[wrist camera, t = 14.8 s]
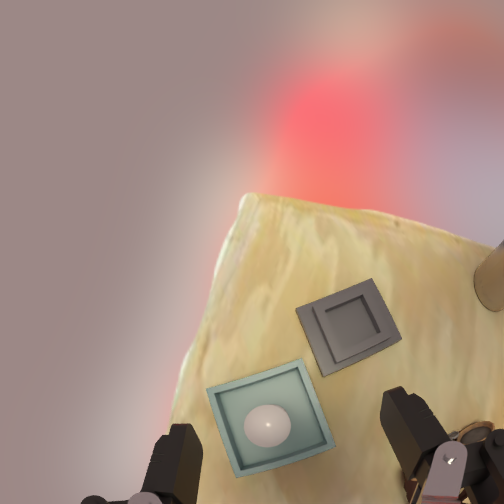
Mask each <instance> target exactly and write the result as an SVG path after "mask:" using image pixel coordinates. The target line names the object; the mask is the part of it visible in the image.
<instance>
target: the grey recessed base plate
mask: <svg viewBox="0 0 504 504" xmlns="http://www.w3.org/2000/svg"><path fill="white" fill-rule="evenodd" d="M296 312H297V315H298V317H299V320H300V322H301V325H302V327H303V330H304V332H305V334H306V337H307V339H308V342H309V344H310V347H311V349H312V352H313V354H314V357H315V359H316V362H317V364H318V367H319V369H320V372H321V374H322V377H324V376H327V375H329V374H331V373H334V372H336V371H338V370H341V369H343V368H345V367H347V366H350V365H352V364H354V363H356V362H358V361H360V360H362V359H365V358H367V357H369V356H371V355H373V354H375V353H377V352H379V351H381V350H383V349H385V348H387V347H388V346H390V345H392V344H394V343H396V342H398V341H400V340H401V339H402V337H401V335H400V333H399V331H398V329H397V327H396V325H395V322H394V320H393V318H392V316H391V314H390V312H389V310H388V308H387V306H386V304H385V302H384V300H383V298H382V296H381V294H380V293H379V291H378V289H377V287H376V285H375V283H374V281H373V279H372V278H371V279H368V280H366V281H364V282H361V283H359V284H356V285H354V286H352V287H349V288H347V289H344V290H342V291H339V292H337V293H334V294H332V295H329V296H327V297H324V298H322V299H319V300H317V301H314V302H311V303H309V304H306V305H303V306H301V307H298V308H296Z"/></svg>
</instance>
